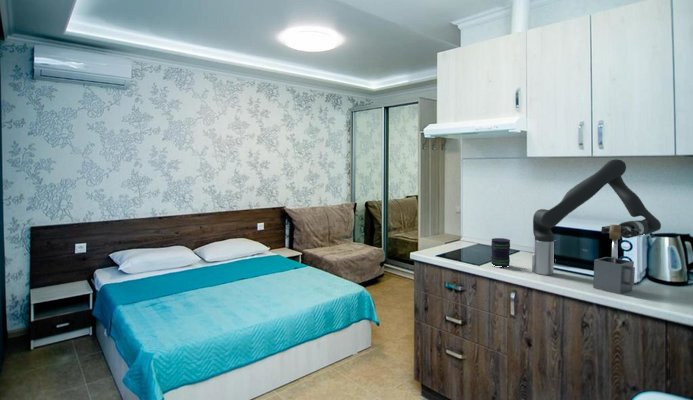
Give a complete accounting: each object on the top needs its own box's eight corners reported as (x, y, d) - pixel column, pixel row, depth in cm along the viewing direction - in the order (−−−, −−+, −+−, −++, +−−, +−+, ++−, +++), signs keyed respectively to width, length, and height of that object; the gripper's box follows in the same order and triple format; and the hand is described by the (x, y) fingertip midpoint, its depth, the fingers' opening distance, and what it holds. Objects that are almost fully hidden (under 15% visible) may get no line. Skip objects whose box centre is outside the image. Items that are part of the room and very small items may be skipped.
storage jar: (497, 263, 228) (497, 237, 227) (513, 266, 220) (513, 239, 219) (487, 265, 222) (487, 239, 221) (503, 269, 214) (503, 241, 213)
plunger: (597, 272, 178) (599, 224, 176) (607, 269, 182) (609, 223, 181) (619, 277, 170) (621, 227, 169) (629, 274, 175) (631, 225, 173)
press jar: (593, 287, 179) (594, 259, 178) (605, 284, 184) (606, 256, 183) (626, 295, 167) (627, 265, 166) (638, 291, 173) (640, 262, 172)
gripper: (614, 219, 188) (596, 222, 180) (649, 222, 176) (631, 225, 168) (613, 235, 189) (595, 238, 180) (648, 239, 176) (630, 243, 168)
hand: (612, 232), depth 174 cm, fingers open, 8 cm apart
